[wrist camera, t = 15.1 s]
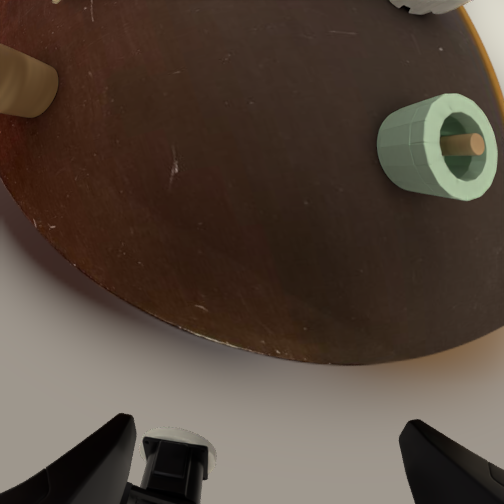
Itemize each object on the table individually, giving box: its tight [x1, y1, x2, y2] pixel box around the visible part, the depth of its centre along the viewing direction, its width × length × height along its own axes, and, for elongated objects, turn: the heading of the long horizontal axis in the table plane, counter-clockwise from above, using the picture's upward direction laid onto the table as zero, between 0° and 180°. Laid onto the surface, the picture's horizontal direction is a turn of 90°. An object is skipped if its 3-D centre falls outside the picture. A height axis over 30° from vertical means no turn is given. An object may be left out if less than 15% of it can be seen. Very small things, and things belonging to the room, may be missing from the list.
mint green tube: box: [377, 93, 497, 201], centre depth 15 cm, size 6×6×6 cm
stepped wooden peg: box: [439, 133, 485, 157], centre depth 15 cm, size 2×2×6 cm
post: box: [0, 44, 58, 118], centre depth 12 cm, size 4×4×8 cm
